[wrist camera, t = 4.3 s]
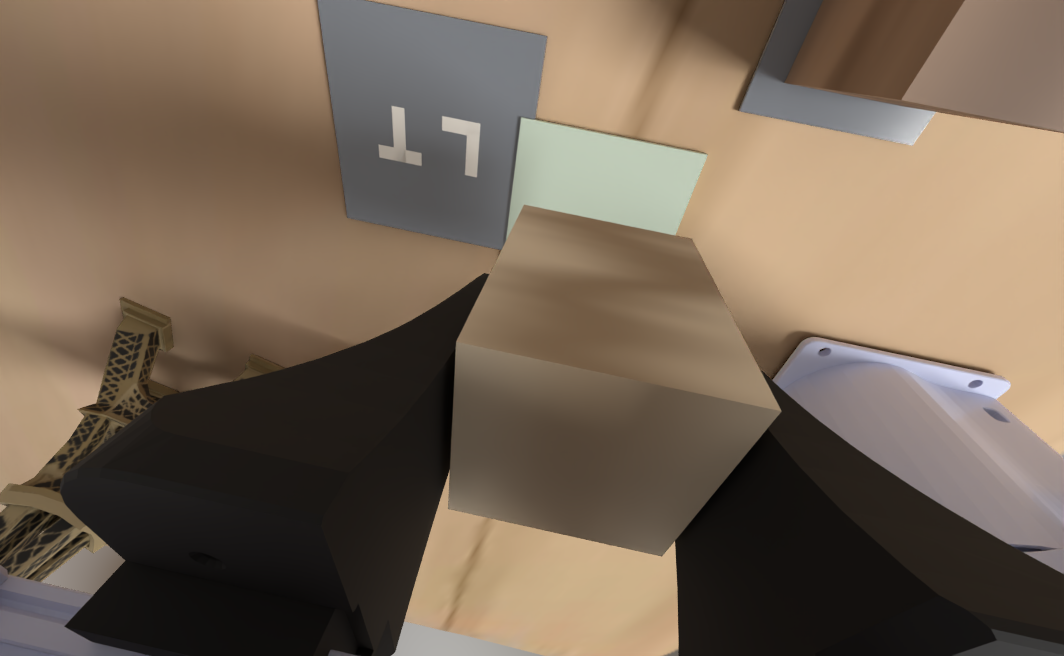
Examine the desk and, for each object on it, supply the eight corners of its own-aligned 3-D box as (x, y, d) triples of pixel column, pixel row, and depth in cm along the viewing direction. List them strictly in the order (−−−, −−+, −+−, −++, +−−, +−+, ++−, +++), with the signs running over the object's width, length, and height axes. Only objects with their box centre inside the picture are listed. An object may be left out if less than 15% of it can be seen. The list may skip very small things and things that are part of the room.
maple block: (691, 238, 10) (781, 411, 5) (637, 364, 13) (661, 556, 8) (524, 204, 10) (456, 341, 5) (504, 336, 13) (447, 509, 8)
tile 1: (547, 36, 13) (546, 36, 13) (516, 251, 18) (515, 253, 17) (318, -9, 13) (315, -10, 13) (349, 216, 18) (347, 218, 18)
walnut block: (1016, -65, 10) (1403, -176, 5) (905, 106, 12) (1100, 138, 8) (866, -93, 10) (1110, -228, 5) (784, 82, 13) (900, 100, 8)
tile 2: (1086, -111, 10) (1094, -114, 9) (909, 144, 13) (912, 145, 13) (850, -155, 10) (853, -158, 10) (738, 110, 13) (739, 111, 13)
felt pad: (705, 153, 14) (707, 154, 14) (643, 307, 18) (644, 310, 18) (522, 116, 14) (521, 117, 14) (502, 277, 18) (500, 280, 18)
